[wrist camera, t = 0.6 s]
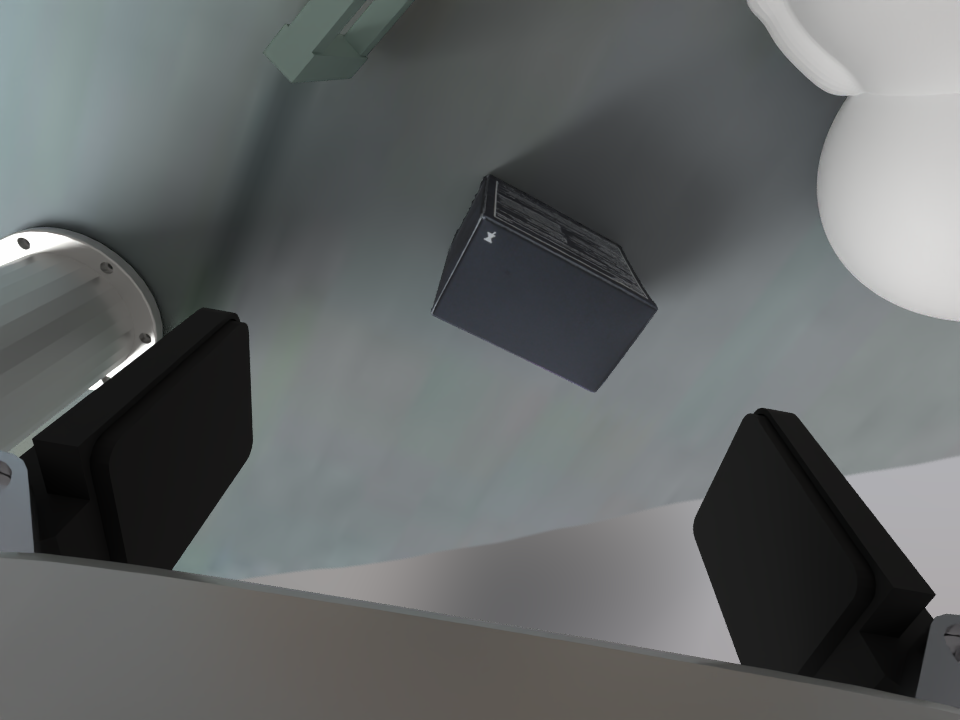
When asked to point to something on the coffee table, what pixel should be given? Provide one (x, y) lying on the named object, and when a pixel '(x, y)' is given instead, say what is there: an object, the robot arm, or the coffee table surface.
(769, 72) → the coffee table surface
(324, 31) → the gate
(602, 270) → the small box
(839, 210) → the teddy bear
